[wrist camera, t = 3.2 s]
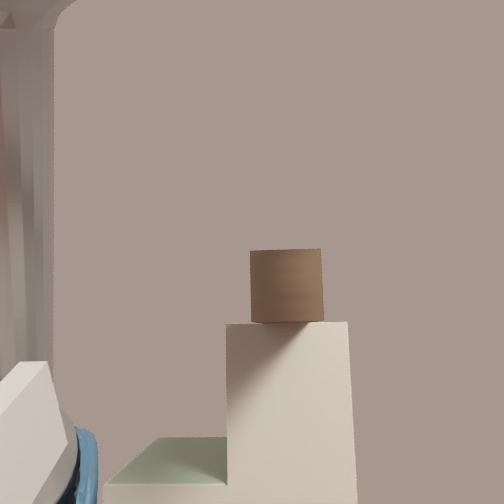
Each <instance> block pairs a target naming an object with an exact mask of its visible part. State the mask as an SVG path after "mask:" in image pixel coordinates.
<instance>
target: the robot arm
mask: <svg viewBox="0 0 504 504" xmlns="http://www.w3.org/2000/svg"><path fill="white" fill-rule="evenodd" d="M74 1H76V0H0V504H97V490H98V450H97V442H96V439H95V436H94V434H93V433H91V432H90V431H89V430H87V429H79V428H77V427H74V425H73V422H72V420H71V419H70V417H69V415H68V414H67V412H66V411H65V410H64V409H63V408H62V407H61V406H60V405H59V404H58V402H57V398H56V394H55V390H54V386H53V268H54V267H53V265H54V262H53V259H54V256H53V254H54V253H53V251H54V243H53V242H54V241H53V239H54V224H53V223H54V28H55V25H56V22H57V19H58V17H59V15H60V13H61V12H62V11H63V10H65V9H66V8H67V7H68V6H70V5H71V4H72V3H73V2H74Z"/></svg>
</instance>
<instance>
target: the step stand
mask: <svg viewBox="0 0 504 504" xmlns="http://www.w3.org/2000/svg"><path fill="white" fill-rule="evenodd" d="M347 326H348V325H347V322H320V323H319V322H317V323H269V324H227V325H226V378H227V379H226V381H227V382H226V383H227V437H222V438H221V437H220V438H218V437H216V438H215V437H210V438H209V437H208V438H207V437H206V438H157V439H155V440H154V441H153V442H152V443H151V444H150V445H149V446H147V447H146V448H145V449H144V450H143V451H142V452H141V453H139V455H137V456H136V457H135V458H134V459H133V460H132V461H130V462H129V463H128V464H127V465H126V466H125V467H124V468H122V469H121V470H120V471H119V472H118V473H117V474H116V475H115V476H113V477H112V478H111V479H110V480H109V481H108V482H107V483H106V484H104V486H103V504H358V502H357V485H356V484H357V483H356V466H355V448H354V431H353V413H352V395H351V379H350V360H349V343H348V327H347Z"/></svg>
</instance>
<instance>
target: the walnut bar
mask: <svg viewBox="0 0 504 504" xmlns="http://www.w3.org/2000/svg"><path fill="white" fill-rule="evenodd" d="M321 265H322V264H321V249H291V250H261V251H250V274H251V322H256V323H263V324H269V323H310V322H317V321H323V320H324V307H323V285H322V266H321Z"/></svg>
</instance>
